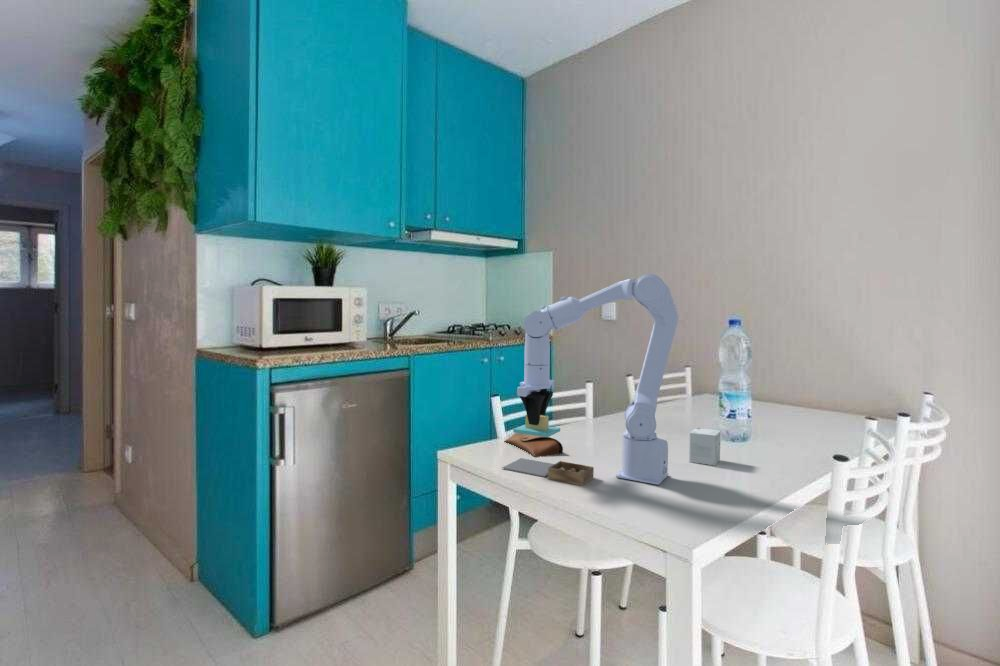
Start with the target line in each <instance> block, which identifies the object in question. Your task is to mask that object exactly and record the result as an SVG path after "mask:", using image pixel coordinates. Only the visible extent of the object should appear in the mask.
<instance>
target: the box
mask: <svg viewBox="0 0 1000 666" xmlns="http://www.w3.org/2000/svg"><path fill="white" fill-rule="evenodd" d="M553 464H554V465H552V466H551V467H549V468H548V476H547V479H548V480H553V481H555V482H556V481H558V482H561V483H566V484H567V483H568V484H572V485H577V486H584V485H586V484H587V483H589V482H590V481H591V480H593V479H594V468H595V467H594V466H590V465H585V464H578V463H574V462H567V461H562V460H560V461H558V462H556V463H553Z"/></svg>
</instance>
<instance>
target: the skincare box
mask: <svg viewBox="0 0 1000 666" xmlns="http://www.w3.org/2000/svg"><path fill="white" fill-rule="evenodd" d="M688 454H689V455H688V462H689V463H693V462H695V463H694V464H699V463H702V464H701V465H705V464H708V465H707V466H712V465H714V467H715V466H716V465H717V464H718V462H719V460H721V430H717V429H709V428H702V427H701V428H699V427H695V428H694V429H692V430H691V431H690V432H689V452H688ZM716 463H717V464H716Z"/></svg>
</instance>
